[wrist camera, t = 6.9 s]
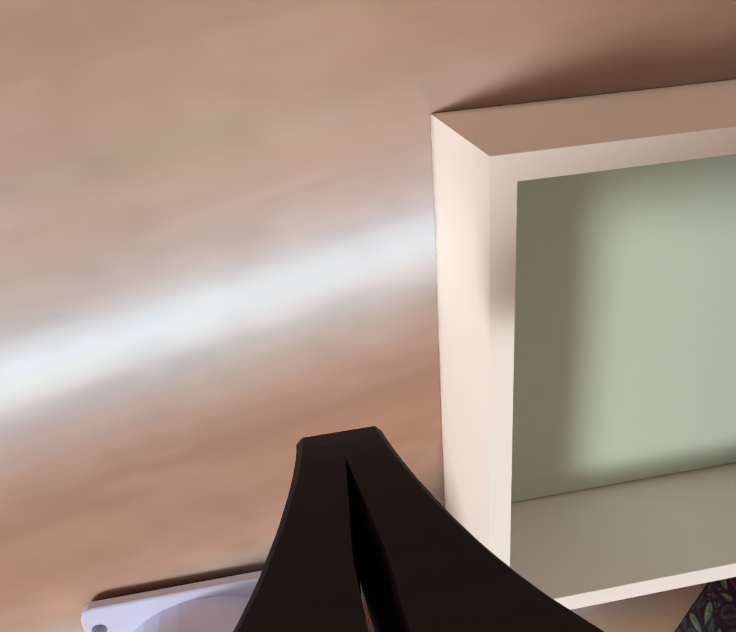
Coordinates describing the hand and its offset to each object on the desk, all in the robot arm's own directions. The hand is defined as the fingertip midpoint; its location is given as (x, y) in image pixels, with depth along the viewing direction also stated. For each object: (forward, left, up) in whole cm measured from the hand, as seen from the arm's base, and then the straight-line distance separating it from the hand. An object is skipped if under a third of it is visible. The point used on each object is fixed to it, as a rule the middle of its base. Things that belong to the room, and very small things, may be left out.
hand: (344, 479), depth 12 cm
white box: (-3, -12, -9) cm, 16 cm away
